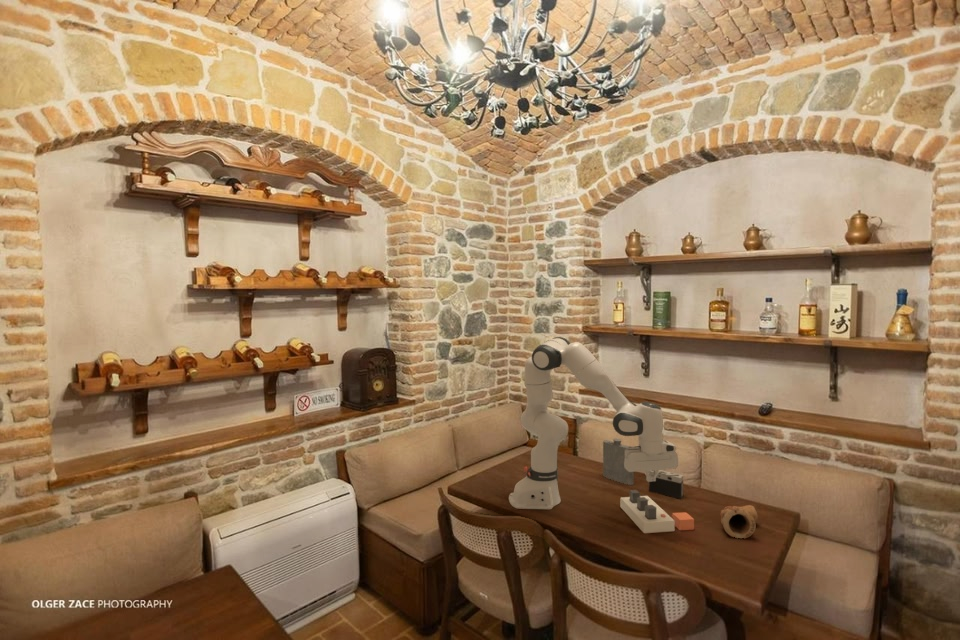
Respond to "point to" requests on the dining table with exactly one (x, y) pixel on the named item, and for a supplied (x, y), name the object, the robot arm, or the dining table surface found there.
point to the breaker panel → (647, 526)
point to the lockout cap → (683, 521)
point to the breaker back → (634, 496)
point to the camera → (667, 484)
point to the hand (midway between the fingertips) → (651, 480)
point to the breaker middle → (641, 503)
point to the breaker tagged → (650, 512)
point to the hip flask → (616, 462)
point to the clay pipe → (739, 520)
